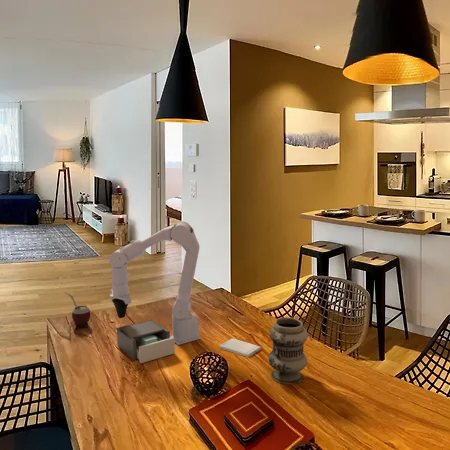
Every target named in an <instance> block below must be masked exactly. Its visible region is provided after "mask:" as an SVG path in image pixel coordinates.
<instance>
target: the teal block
mask: <svg viewBox="0 0 450 450" xmlns="http://www.w3.org/2000/svg"><path fill="white" fill-rule="evenodd" d="M154 342H157V338H156V337H155V336H154V335H152V334H149V335H145V336H142V337H140V346H143V345H147V344H150V343H154Z"/></svg>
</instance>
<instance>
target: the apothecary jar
mask: <svg viewBox="0 0 450 450" xmlns="http://www.w3.org/2000/svg"><path fill="white" fill-rule="evenodd" d="M307 331H308V330H306V328H304V324H303V322H302V321H301V320H300V319H298V318H295V317H288V316H287V317H279V318H277V319H276V320H275V321H274V325H273V326H272V327H271V328H270V330H269V331H268V336H269V339H271V341H272V350H271V351H270V352H269V354H268V357H267V361H268V364H269V365H270V367H271V368H273V369H274V370H273V371H272V373H271V374H270V376H271V378H272V380H273V381H275V382H276V383H279V384H281V385H294V384H300V383H301V382H302V381H303V379H304V376H303V374H302V373H301V371H303V370H304V369H305V368H306V367H307V364H308V357H307V356H306V354H305V353H304V345H305V344H304V343H306V342H307V340H308V337H309V334H308V332H307Z"/></svg>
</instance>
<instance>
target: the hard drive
mask: <svg viewBox="0 0 450 450" xmlns="http://www.w3.org/2000/svg"><path fill="white" fill-rule="evenodd" d="M219 349H222V350H224V351H227V352H231V353H232V354H233V353H234V354H237V355H239V356H242V357H246V358H249V357H251V356H253V355H254V354H256V353H257V352H259V351H261V349H262V347H261V346H259V345H255V344H252V343H249V342H246V341H243V340H239V339H238V338H237V339H236V338H234V337H232V338H230V339H228V340H227V341H225V342H223V343H221V344H220V345H219Z"/></svg>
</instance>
